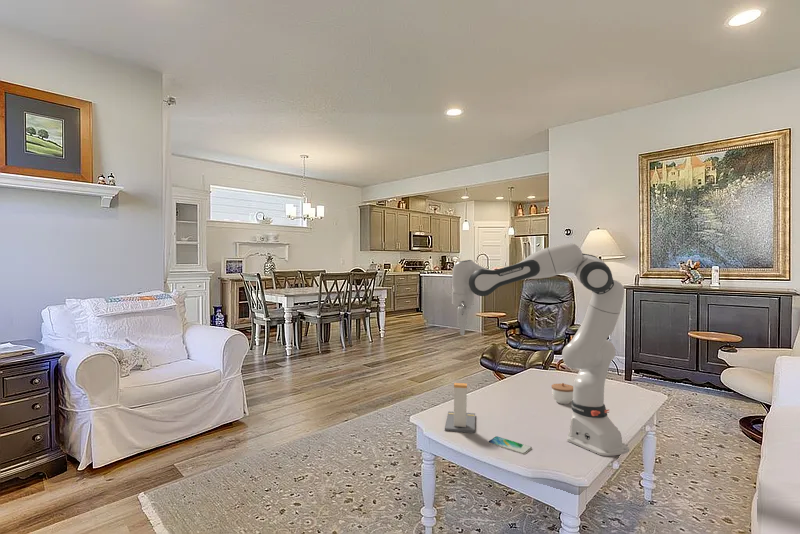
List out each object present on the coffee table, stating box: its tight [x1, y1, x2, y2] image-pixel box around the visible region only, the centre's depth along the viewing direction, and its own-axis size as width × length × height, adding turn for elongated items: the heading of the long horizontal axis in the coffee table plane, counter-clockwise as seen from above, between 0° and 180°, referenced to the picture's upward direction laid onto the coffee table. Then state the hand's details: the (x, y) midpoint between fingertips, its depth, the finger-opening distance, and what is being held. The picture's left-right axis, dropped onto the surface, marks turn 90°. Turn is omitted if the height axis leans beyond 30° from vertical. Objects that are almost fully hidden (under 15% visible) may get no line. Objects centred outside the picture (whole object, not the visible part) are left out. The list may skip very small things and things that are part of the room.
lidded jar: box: [551, 382, 573, 405], centre depth 213 cm, size 11×11×9 cm
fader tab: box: [453, 382, 468, 427], centre depth 178 cm, size 3×5×17 cm, turn 80°
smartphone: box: [487, 435, 533, 455], centre depth 162 cm, size 7×1×15 cm
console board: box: [444, 410, 476, 434], centre depth 184 cm, size 20×12×1 cm, turn 169°
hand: (462, 334), depth 174 cm, fingers closed
